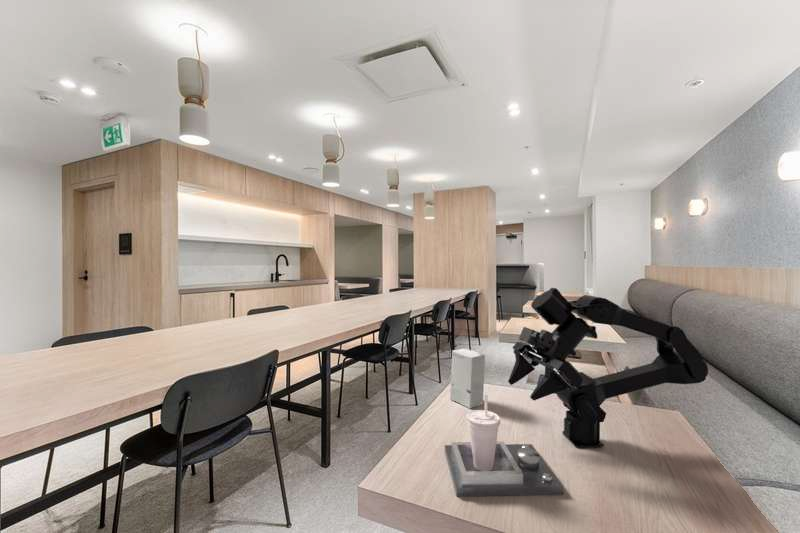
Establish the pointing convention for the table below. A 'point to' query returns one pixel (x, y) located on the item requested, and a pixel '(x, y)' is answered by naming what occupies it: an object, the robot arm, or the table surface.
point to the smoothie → (483, 437)
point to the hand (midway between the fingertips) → (520, 390)
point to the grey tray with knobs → (501, 472)
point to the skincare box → (467, 377)
